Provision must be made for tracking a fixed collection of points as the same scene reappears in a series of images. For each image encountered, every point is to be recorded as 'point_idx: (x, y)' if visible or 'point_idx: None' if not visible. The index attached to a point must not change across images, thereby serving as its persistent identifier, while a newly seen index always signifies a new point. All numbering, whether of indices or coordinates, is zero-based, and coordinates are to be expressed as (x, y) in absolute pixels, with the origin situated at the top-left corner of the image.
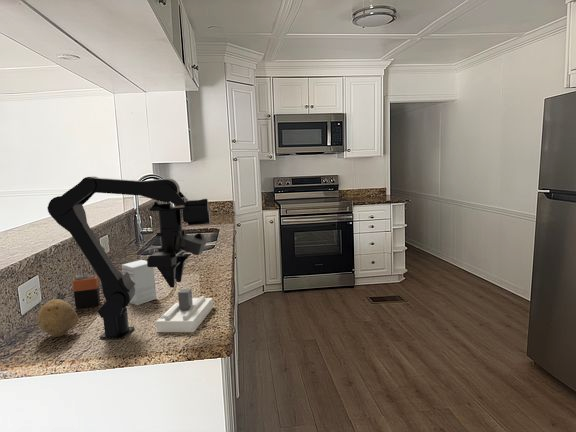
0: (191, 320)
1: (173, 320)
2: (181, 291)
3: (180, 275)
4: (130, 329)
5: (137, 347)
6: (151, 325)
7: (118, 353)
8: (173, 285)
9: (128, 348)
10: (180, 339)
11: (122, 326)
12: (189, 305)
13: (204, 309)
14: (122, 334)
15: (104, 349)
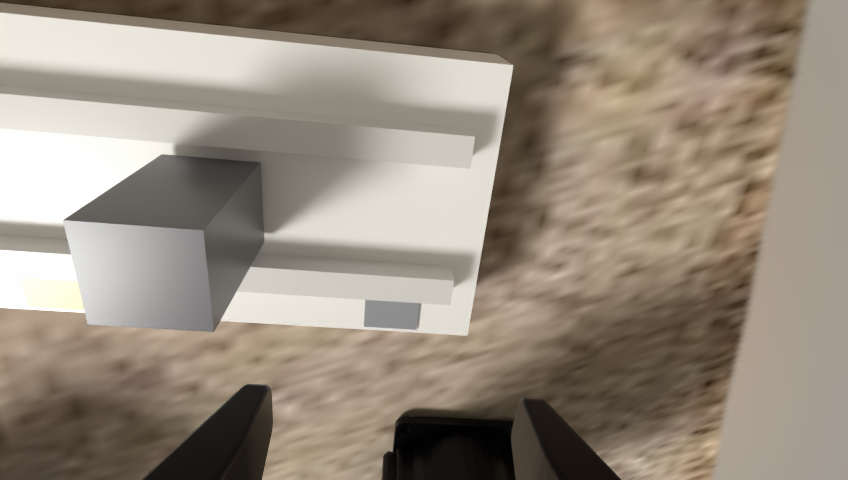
0: (494, 81)
1: (469, 227)
2: (174, 307)
3: (233, 469)
4: (432, 428)
5: (641, 326)
6: (353, 352)
7: (683, 382)
8: (557, 422)
9: (640, 361)
10: (599, 120)
11: (495, 473)
12: (235, 171)
13: (182, 28)
14: (494, 439)
15: (618, 447)
